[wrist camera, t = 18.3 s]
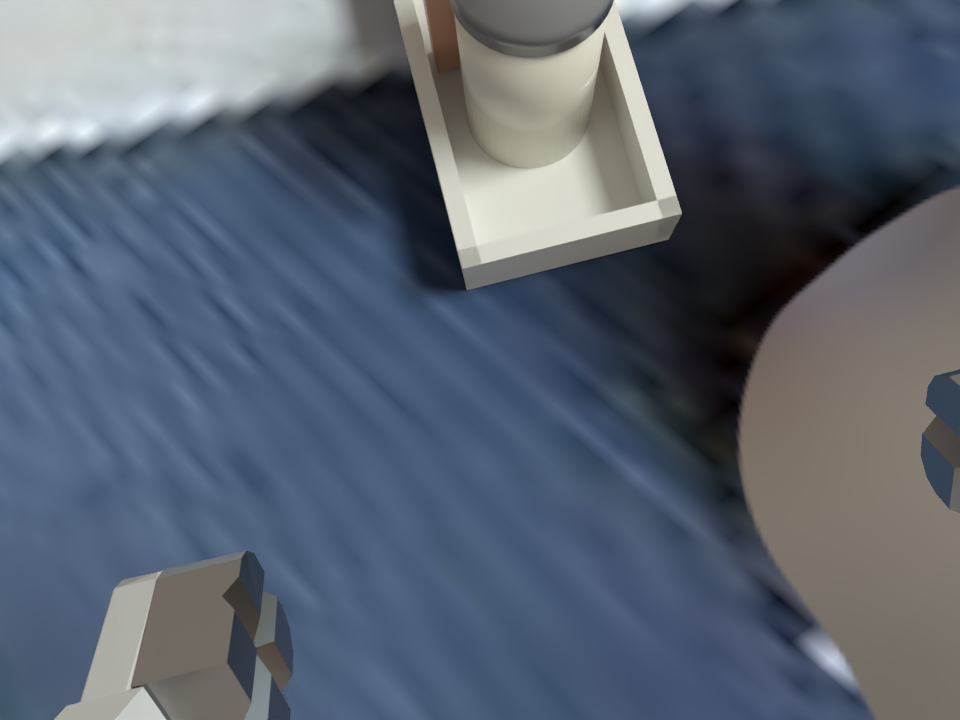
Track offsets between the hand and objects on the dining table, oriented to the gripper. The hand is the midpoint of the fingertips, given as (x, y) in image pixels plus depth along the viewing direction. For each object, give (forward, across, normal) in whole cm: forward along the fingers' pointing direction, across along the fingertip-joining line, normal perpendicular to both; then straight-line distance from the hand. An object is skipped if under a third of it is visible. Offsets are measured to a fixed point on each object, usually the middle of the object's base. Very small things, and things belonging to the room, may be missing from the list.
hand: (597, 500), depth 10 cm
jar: (+30, -4, +5) cm, 31 cm away
